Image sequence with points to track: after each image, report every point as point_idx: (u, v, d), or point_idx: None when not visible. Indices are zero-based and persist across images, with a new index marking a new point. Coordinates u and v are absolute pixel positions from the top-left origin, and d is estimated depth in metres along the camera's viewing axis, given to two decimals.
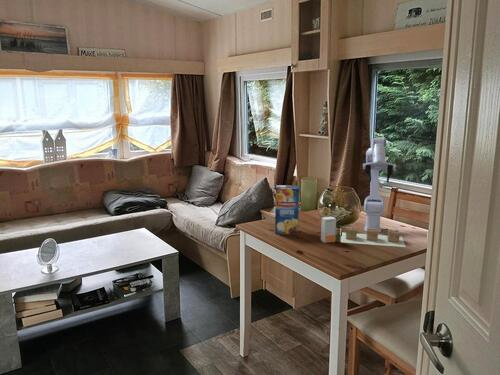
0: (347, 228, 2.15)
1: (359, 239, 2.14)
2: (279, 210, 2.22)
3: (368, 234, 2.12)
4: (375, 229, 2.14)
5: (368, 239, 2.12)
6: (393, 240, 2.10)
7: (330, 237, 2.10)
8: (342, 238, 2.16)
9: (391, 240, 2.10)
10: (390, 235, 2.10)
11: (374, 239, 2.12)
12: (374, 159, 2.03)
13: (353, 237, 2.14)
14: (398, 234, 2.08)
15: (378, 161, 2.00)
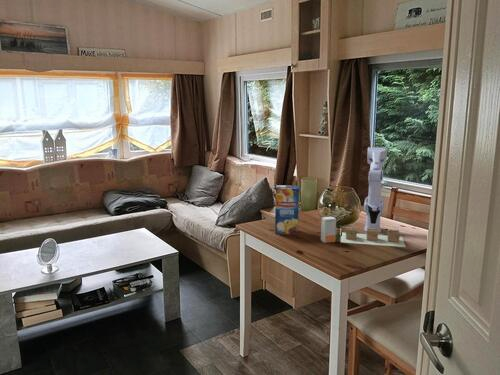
0: (347, 228, 2.15)
1: (359, 239, 2.14)
2: (279, 210, 2.22)
3: (368, 234, 2.12)
4: (375, 229, 2.14)
5: (368, 239, 2.12)
6: (393, 240, 2.10)
7: (330, 237, 2.10)
8: (342, 238, 2.16)
9: (391, 240, 2.10)
10: (390, 235, 2.10)
11: (374, 239, 2.12)
12: None
13: (353, 237, 2.14)
14: (398, 234, 2.08)
15: None
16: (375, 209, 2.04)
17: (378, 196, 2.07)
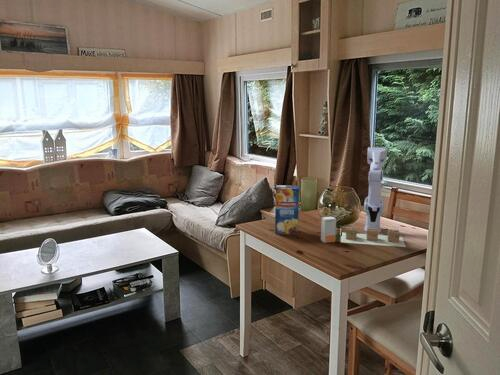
0: (347, 228, 2.15)
1: (359, 239, 2.14)
2: (279, 210, 2.22)
3: (368, 234, 2.12)
4: (375, 229, 2.14)
5: (368, 239, 2.12)
6: (393, 240, 2.10)
7: (330, 237, 2.10)
8: (342, 238, 2.16)
9: (391, 240, 2.10)
10: (390, 235, 2.10)
11: (374, 239, 2.12)
12: None
13: (353, 237, 2.14)
14: (398, 234, 2.08)
15: None
16: (375, 209, 2.04)
17: (378, 196, 2.07)
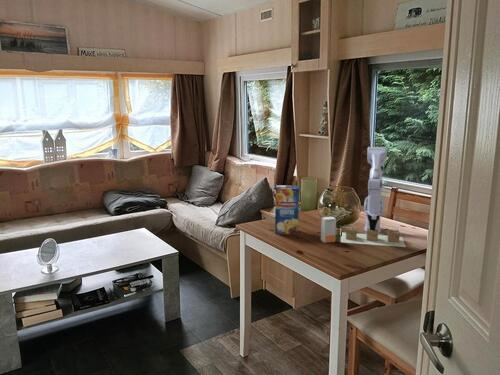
0: (347, 228, 2.15)
1: (359, 239, 2.14)
2: (279, 210, 2.22)
3: (368, 234, 2.12)
4: (375, 229, 2.14)
5: (368, 239, 2.12)
6: (393, 240, 2.10)
7: (330, 237, 2.10)
8: (342, 238, 2.16)
9: (391, 240, 2.10)
10: (390, 235, 2.10)
11: (374, 239, 2.12)
12: None
13: (353, 237, 2.14)
14: (398, 234, 2.08)
15: None
16: (375, 217, 2.05)
17: (378, 204, 2.08)
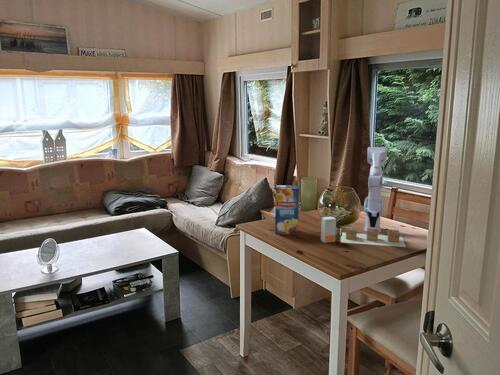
0: (347, 228, 2.15)
1: (359, 239, 2.14)
2: (279, 210, 2.22)
3: (368, 234, 2.12)
4: (375, 229, 2.14)
5: (368, 239, 2.12)
6: (393, 240, 2.10)
7: (330, 237, 2.10)
8: (342, 238, 2.16)
9: (391, 240, 2.10)
10: (390, 235, 2.10)
11: (374, 239, 2.12)
12: None
13: (353, 237, 2.14)
14: (398, 234, 2.08)
15: None
16: (375, 214, 2.04)
17: (378, 201, 2.08)
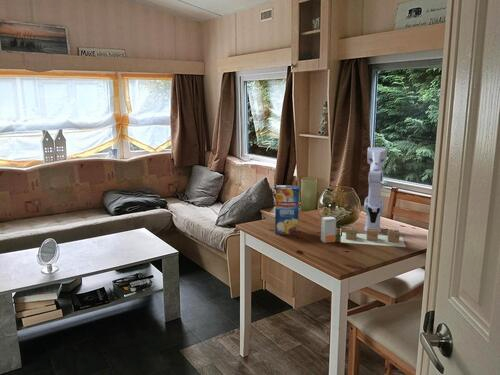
0: (347, 228, 2.15)
1: (359, 239, 2.14)
2: (279, 210, 2.22)
3: (368, 234, 2.12)
4: (375, 229, 2.14)
5: (368, 239, 2.12)
6: (393, 240, 2.10)
7: (330, 237, 2.10)
8: (342, 238, 2.16)
9: (391, 240, 2.10)
10: (390, 235, 2.10)
11: (374, 239, 2.12)
12: None
13: (353, 237, 2.14)
14: (398, 234, 2.08)
15: None
16: (375, 210, 2.04)
17: (378, 197, 2.07)
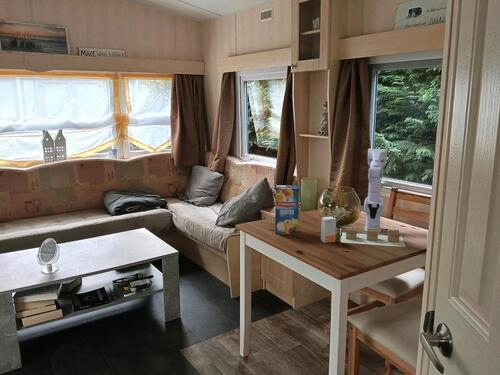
0: (347, 228, 2.15)
1: (359, 239, 2.14)
2: (279, 210, 2.22)
3: (368, 234, 2.12)
4: (375, 229, 2.14)
5: (368, 239, 2.12)
6: (393, 240, 2.10)
7: (330, 237, 2.10)
8: (342, 238, 2.16)
9: (391, 240, 2.10)
10: (390, 235, 2.10)
11: (374, 239, 2.12)
12: None
13: (353, 237, 2.14)
14: (398, 234, 2.08)
15: None
16: (375, 205, 2.06)
17: (378, 193, 2.10)
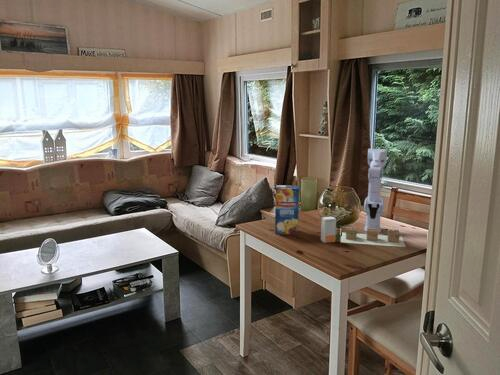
0: (347, 228, 2.15)
1: (359, 239, 2.14)
2: (279, 210, 2.22)
3: (368, 234, 2.12)
4: (375, 229, 2.14)
5: (368, 239, 2.12)
6: (393, 240, 2.10)
7: (330, 237, 2.10)
8: (342, 238, 2.16)
9: (391, 240, 2.10)
10: (390, 235, 2.10)
11: (374, 239, 2.12)
12: None
13: (353, 237, 2.14)
14: (398, 234, 2.08)
15: None
16: (375, 205, 2.06)
17: (378, 193, 2.10)
